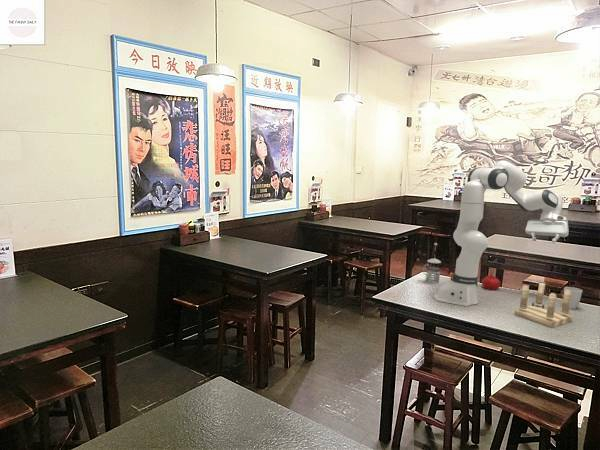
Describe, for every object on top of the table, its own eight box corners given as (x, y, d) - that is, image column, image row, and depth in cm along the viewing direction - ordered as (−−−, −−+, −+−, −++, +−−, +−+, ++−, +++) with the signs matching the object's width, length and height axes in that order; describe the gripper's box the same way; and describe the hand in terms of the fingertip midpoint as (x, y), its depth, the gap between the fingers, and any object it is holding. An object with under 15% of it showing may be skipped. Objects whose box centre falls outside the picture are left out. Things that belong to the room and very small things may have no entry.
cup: (582, 310, 217) (585, 292, 215) (565, 309, 218) (567, 290, 216) (575, 305, 224) (578, 287, 223) (559, 304, 226) (561, 286, 224)
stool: (551, 327, 192) (555, 295, 190) (513, 314, 208) (517, 284, 205) (572, 321, 201) (576, 290, 199) (534, 308, 217) (538, 279, 214)
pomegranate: (491, 292, 243) (492, 276, 241) (477, 286, 252) (479, 272, 250) (503, 290, 247) (505, 275, 246) (489, 285, 256) (491, 270, 254)
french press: (444, 285, 252) (447, 244, 248) (427, 286, 249) (430, 244, 245) (434, 280, 262) (438, 241, 258) (418, 281, 259) (421, 241, 255)
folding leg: (541, 303, 211) (545, 281, 214) (535, 301, 213) (539, 280, 216) (542, 304, 213) (546, 283, 217) (535, 303, 215) (539, 282, 218)
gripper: (527, 215, 235) (521, 236, 230) (569, 217, 221) (564, 239, 216) (529, 222, 239) (523, 242, 234) (571, 224, 224) (566, 246, 219)
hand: (543, 241), depth 225 cm, fingers open, 8 cm apart
